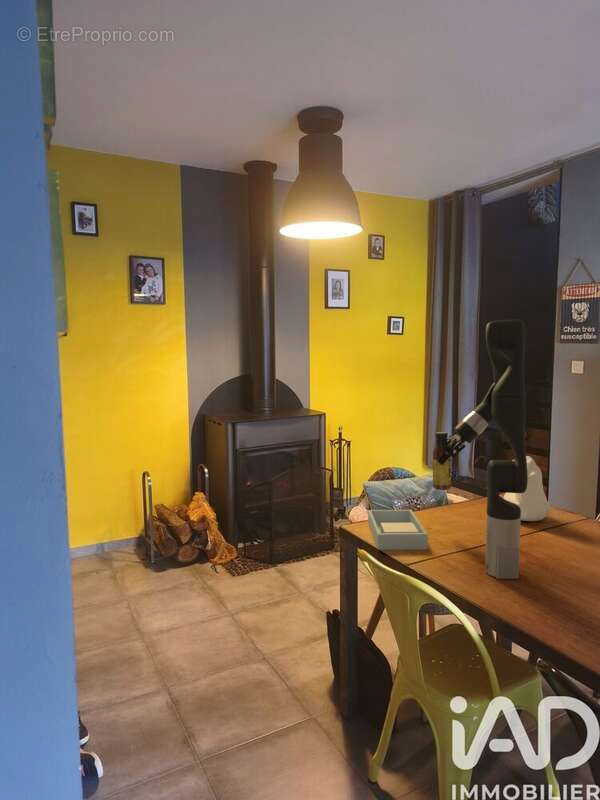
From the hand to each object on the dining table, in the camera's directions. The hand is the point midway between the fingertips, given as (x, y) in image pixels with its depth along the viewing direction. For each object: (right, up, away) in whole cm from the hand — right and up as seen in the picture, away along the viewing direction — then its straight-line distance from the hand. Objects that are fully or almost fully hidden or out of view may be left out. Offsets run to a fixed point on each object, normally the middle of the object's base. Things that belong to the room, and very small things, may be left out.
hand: (437, 460), depth 188 cm
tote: (-15, -26, -2) cm, 31 cm away
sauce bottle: (+2, -10, +1) cm, 10 cm away
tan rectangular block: (-15, -26, -8) cm, 31 cm away
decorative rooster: (+39, -24, +20) cm, 50 cm away
